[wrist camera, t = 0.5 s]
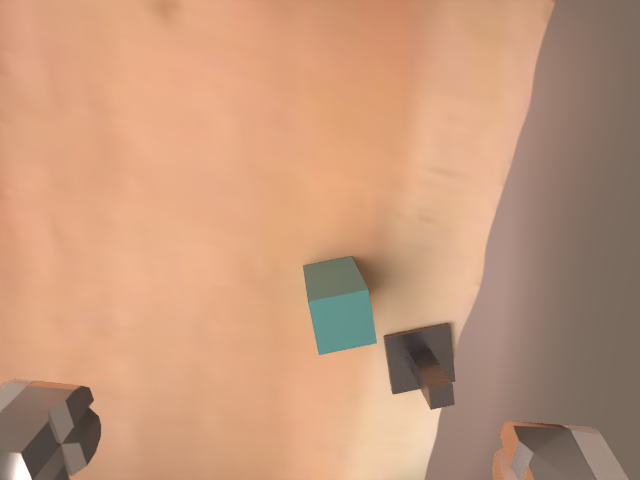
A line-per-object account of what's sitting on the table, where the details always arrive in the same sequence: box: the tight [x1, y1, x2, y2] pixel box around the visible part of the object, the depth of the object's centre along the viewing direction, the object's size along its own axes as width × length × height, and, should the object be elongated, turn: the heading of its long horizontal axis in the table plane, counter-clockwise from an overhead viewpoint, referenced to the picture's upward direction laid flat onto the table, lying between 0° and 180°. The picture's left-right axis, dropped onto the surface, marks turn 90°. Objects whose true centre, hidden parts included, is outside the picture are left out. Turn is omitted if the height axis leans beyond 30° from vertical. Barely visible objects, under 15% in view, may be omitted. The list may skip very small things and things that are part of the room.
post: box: [383, 323, 455, 409], centre depth 48 cm, size 8×8×8 cm
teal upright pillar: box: [303, 256, 377, 355], centre depth 44 cm, size 6×6×10 cm
